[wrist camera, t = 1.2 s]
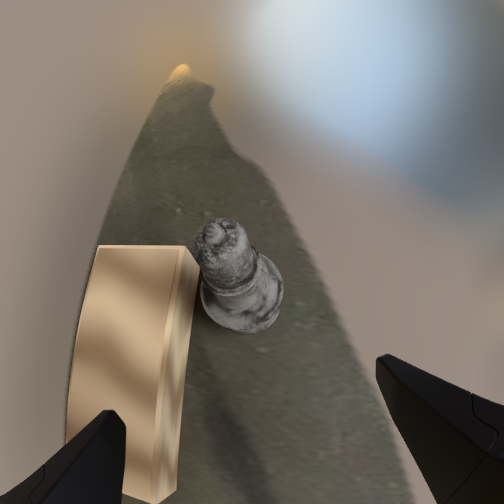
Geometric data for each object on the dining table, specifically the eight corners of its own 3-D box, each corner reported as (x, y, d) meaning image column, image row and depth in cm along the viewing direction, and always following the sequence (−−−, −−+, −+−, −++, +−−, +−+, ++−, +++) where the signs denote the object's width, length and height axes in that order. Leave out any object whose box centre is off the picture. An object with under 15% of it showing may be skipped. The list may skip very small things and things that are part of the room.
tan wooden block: (176, 490, 16) (154, 506, 13) (93, 460, 18) (64, 466, 14) (200, 266, 25) (184, 244, 21) (120, 263, 26) (97, 243, 23)
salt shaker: (299, 305, 22) (306, 227, 12) (242, 353, 21) (192, 318, 11) (253, 256, 25) (224, 156, 14) (199, 298, 24) (130, 223, 13)
